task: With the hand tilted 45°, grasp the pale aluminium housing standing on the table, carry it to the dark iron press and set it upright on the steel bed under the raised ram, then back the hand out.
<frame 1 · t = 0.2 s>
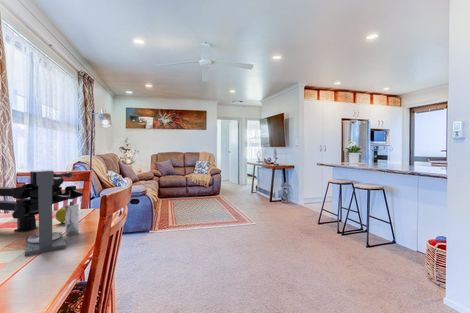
hand: (75, 196, 115), 16 cm above the table, tool horizontal, fingers open, 9 cm apart
press: (45, 242, 104), on the table
lemon: (62, 223, 130), on the table
housing: (72, 233, 114), on the table
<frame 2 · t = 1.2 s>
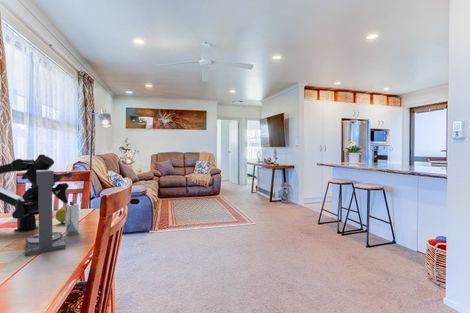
hand: (58, 205, 115), 12 cm above the table, tool tilted 45°, fingers open, 9 cm apart
nothing on the table moved.
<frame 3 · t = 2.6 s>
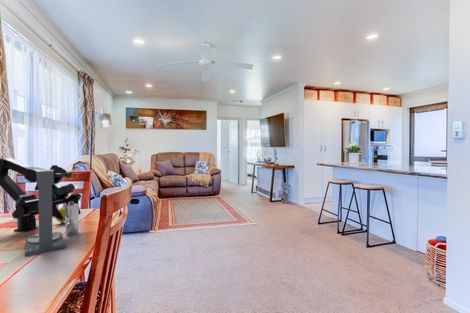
hand: (71, 216, 114), 8 cm above the table, tool tilted 45°, fingers open, 9 cm apart
nothing on the table moved.
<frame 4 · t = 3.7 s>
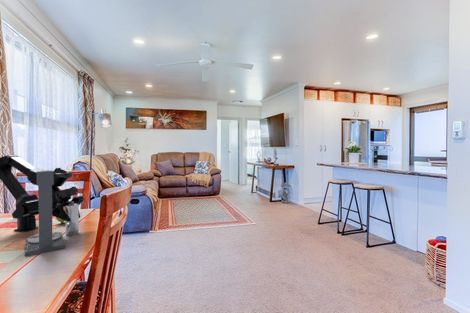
hand: (74, 219, 114), 7 cm above the table, tool tilted 45°, fingers closed on housing, 5 cm apart
housing: (72, 233, 114), on the table, touching gripper
everything else where it was.
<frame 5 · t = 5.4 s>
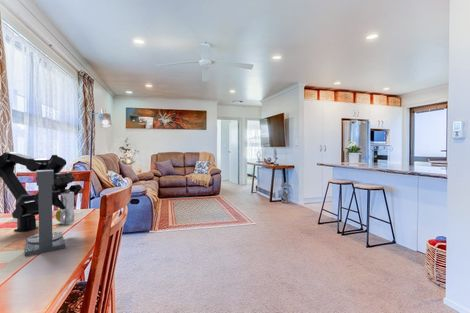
hand: (69, 207, 111), 12 cm above the table, tool tilted 45°, fingers closed on housing, 5 cm apart
housing: (67, 222, 112), point 6 cm above the table, touching gripper
everything else where it was.
when the fingers open (10 cm above the table, at t = 7.1 s): housing stays where it is, resting on press.
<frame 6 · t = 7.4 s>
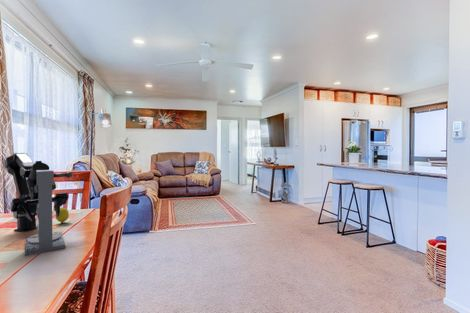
hand: (45, 218, 102), 10 cm above the table, tool tilted 45°, fingers open, 8 cm apart
housing: (44, 236, 104), point 3 cm above the table, touching press
everything else where it was.
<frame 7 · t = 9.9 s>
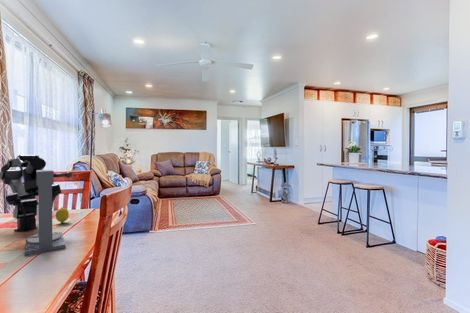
hand: (38, 212, 109), 11 cm above the table, tool tilted 30°, fingers open, 9 cm apart
nothing on the table moved.
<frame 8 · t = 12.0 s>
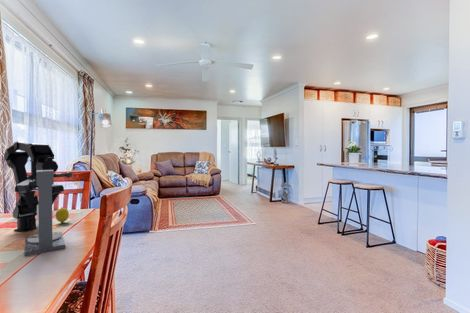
hand: (39, 208, 111), 12 cm above the table, tool pointing down, fingers open, 9 cm apart
nothing on the table moved.
at the end: housing 0.1 cm off-centre on the press, point 2.5 cm above the press's base; housing tilted 0°; the gripper is holding nothing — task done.
